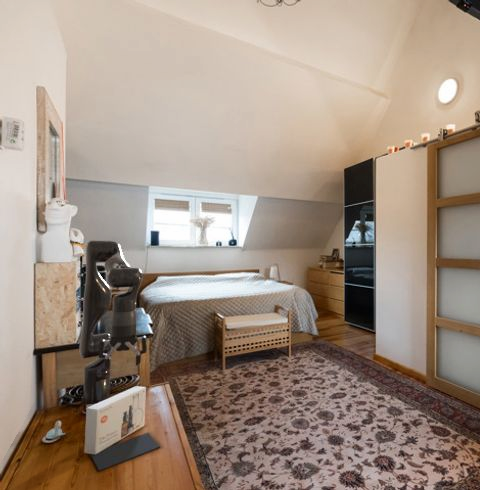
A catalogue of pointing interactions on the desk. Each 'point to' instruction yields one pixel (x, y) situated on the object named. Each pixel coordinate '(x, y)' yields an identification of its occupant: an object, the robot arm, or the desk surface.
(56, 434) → the pacifier
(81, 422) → the desk surface
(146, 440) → the dark rubber mat
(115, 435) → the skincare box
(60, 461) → the desk surface
